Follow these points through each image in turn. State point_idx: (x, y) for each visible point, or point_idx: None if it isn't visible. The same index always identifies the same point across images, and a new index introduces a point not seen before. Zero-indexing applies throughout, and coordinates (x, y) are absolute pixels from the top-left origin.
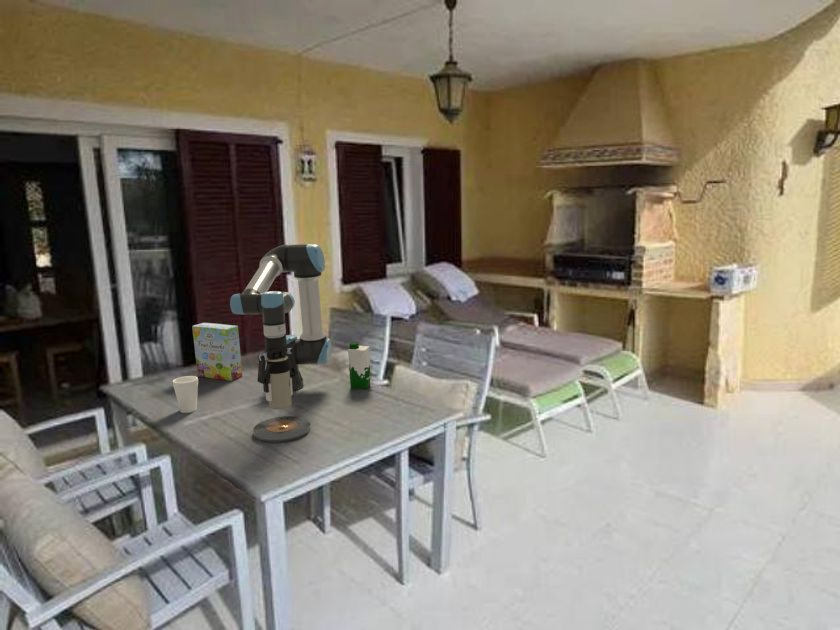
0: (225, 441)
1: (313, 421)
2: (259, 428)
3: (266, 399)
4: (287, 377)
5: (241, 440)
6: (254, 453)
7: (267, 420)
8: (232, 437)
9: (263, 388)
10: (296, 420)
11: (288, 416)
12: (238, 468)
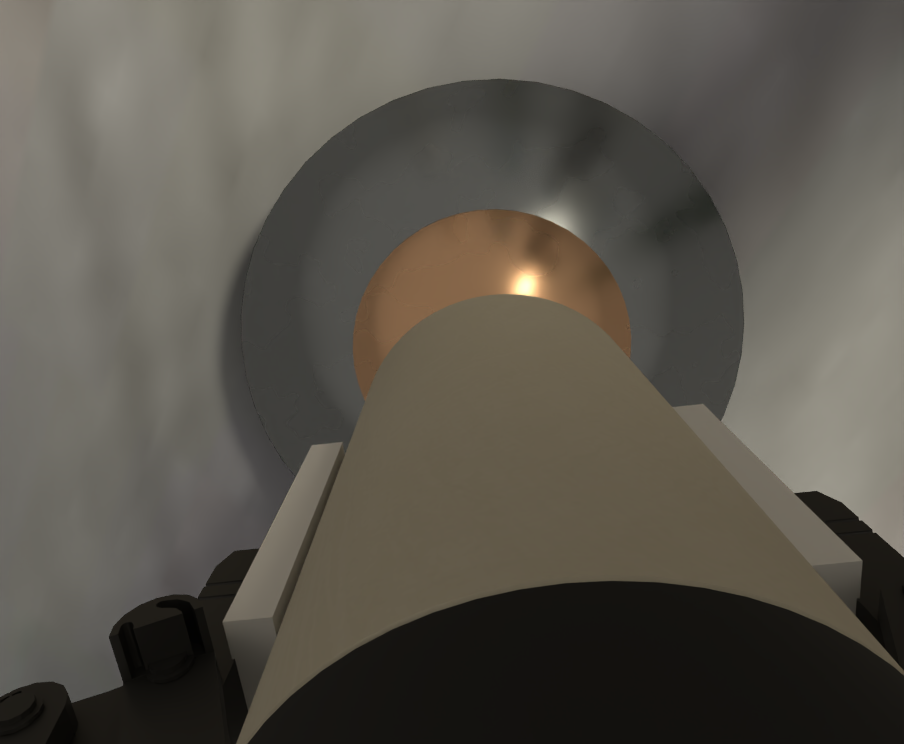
0: (27, 193)
1: (803, 320)
2: (314, 251)
3: (311, 456)
4: None
5: (149, 270)
6: (161, 548)
7: (460, 106)
8: (100, 149)
9: (200, 594)
10: (661, 316)
11: (669, 160)
12: (14, 666)
